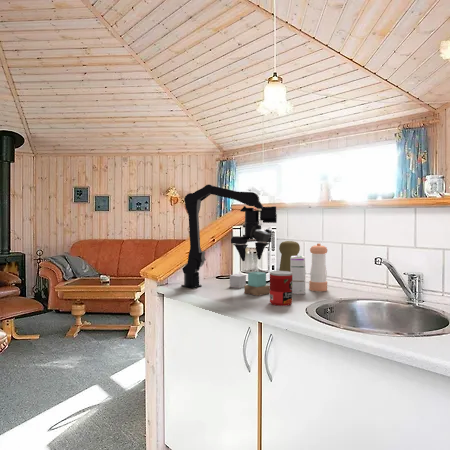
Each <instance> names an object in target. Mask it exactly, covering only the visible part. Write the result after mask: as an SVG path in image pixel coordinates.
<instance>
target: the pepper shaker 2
mask: <svg viewBox="0 0 450 450" xmlns="http://www.w3.org/2000/svg"><path fill="white" fill-rule="evenodd" d="M309 251H310V253H311V266H310V272H309V277H310V278H309V283H308V284H309V285H308V290H309V291H313V292H327V291H328V281H327V274H328V273H327V265H326V254H327V253H328V248H327V247H326V246H325V245H321V243H320V242H319V243H317V244H316V245H312V246H310V249H309Z"/></svg>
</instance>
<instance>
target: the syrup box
mask: <svg viewBox="0 0 450 450" xmlns="http://www.w3.org/2000/svg"><path fill="white" fill-rule="evenodd" d="M290 272H292V295H305V294H306V256H305V255H298V256H291V258H290Z"/></svg>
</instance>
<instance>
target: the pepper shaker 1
mask: <svg viewBox="0 0 450 450" xmlns="http://www.w3.org/2000/svg"><path fill="white" fill-rule="evenodd" d="M278 250H279V253H280V262H279V268H278V269H279V270H278V271H289V272H290V258H291V256H299V255H298V254H299V253H300V250H301V246H300V243H299V242H298V241H293V240H286V241H281V242H280V244H279V246H278Z"/></svg>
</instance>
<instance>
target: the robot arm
mask: <svg viewBox="0 0 450 450" xmlns="http://www.w3.org/2000/svg"><path fill="white" fill-rule="evenodd" d="M211 195H213V196H218V197H222V198H225V199H230V200H233V201H237V202H239V203H242V204H244V206H243V207H242V208H241V209H240V210H239V211H240V212H241V213H242V212H244V224H243V225H242V228H244V234H242V236H241V235H238V236H235V235H234V236H233V235H232V237H231V238H230V244H232V245H233V246H234V247H235V248H236V250H237V252H238V255H239V257H240V260H241V261H242V262H245V260H246V250H247V248H248V246H249V245H248V243H252V242H254V244H255V251H256V256H257V260H261V259H262V256H263V253H264V251H265V248H266V246H267V245H269V244H270V243H272V235H273V231H272V229H270V228H266V229H262V226H261V225H260V224H259V223H260V221H262V223H263V224H265V223H266V224H277V221H278V220H277V219H278V214H277V206H263V205H264V204H262V202H261V201H260V196H259V195H258V193H255V192H253V191H237V190H232V189H228V188H223V187H219V186H214V185H212V184H205V186H203V187H202V188H200V189H198V190H196V191H194V192H190V193H187V194H186V195H185V196H184V199H183V203H184V206H185V210H186V212H187V216H188V233H189V252H188V256H187V257H188V258H187V263H186V264H185V265H184V266H183V267H182V272H183V276H184V277H183V283H184V284H181V285H180V287H184V288H188V289H194V288H199V287H202V284H200V273H199V271H200V269H201V268H202V267H203V266H204V265H205V261H206V260H207V259H206V257H205V256H206V251H205V250H203V251H202V248H201V237H200V236H201V235H200V220H199V218H200V216H199V215H200V214H199V213H200V210H201V205H202V201H204V200H205V199H207V198H208V197H209V196H211ZM246 206H249V207H246ZM254 208H256V209H257V210H254ZM258 209H260V210H258Z"/></svg>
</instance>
